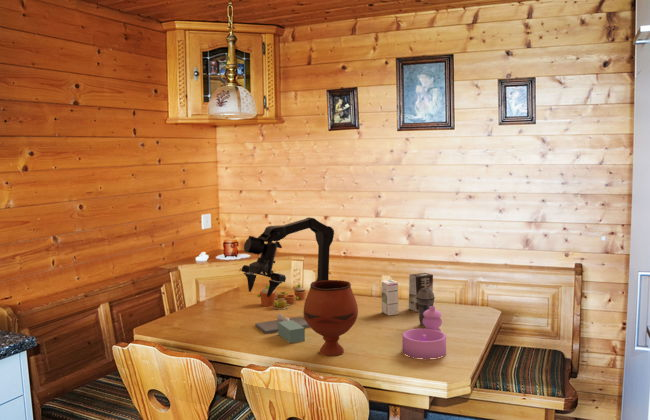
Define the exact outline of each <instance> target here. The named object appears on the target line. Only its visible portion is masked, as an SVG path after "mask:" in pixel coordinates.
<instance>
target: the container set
mask: <svg viewBox="0 0 650 420" xmlns="http://www.w3.org/2000/svg"><path fill="white" fill-rule="evenodd" d="M423 315H424V318H423V321H422V322H423V324H424V326H426V327H424V328H413V329H408V330H405V331H403V332H402V336H401V337H402V345H401V346H402V351H403V352H402V354H403V353H404V354H406V355H408V356H410V357H414V358H423V359H430V358H438V357H441V356H444V355H445V354H446V355H447V334H445V333H444V331H442V329H441V328H440V327H442V324H443V319H442V312H441V311H439V310H437V309H436V306H434V305H433V306H430V307H429V310H426V311H425V312H424V313H423ZM404 354H403V355H404ZM406 355H405V356H406ZM446 355H445V356H446ZM408 356H407V357H408ZM445 356H444V357H445ZM410 357H409V358H410ZM414 358H413V359H414Z"/></svg>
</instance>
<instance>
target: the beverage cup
mask: <svg viewBox="0 0 650 420" xmlns="http://www.w3.org/2000/svg"><path fill="white" fill-rule="evenodd" d="M435 298H436V297H435V293H434V290H433V291H432V290H431V289H429V288H426V278H425V288H422V289H421V290H420V291H419V292H418V295H417V301H418V308H419V312H418V318H419V325H421V326H420V327H422V326H424V324H423V322H422V321H423V318H424V315H423V313H424V312H425V311H426V310H429V307H430V306H434V303H435Z"/></svg>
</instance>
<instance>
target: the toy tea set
mask: <svg viewBox="0 0 650 420" xmlns="http://www.w3.org/2000/svg"><path fill="white" fill-rule="evenodd" d="M268 289H269V285H266V286H265V288H263V289H262V290H260V292H259V293H258V294H257V295H256V296H257V298H260V301H261V306H262V307H267V308H268V307H272V308H273V309H275V310H285V309H287V308H288V307H290V306H292V305H295V304H296V301H304V300H306V294H307V290H306V289H304V287H302V286H301V284H297V287H294V289H293V292H294V294H289V292H288V291H279V292H276V290H274V291H273V292H272V294H271V295H270V296H269V297H267V293H268Z"/></svg>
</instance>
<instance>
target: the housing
mask: <svg viewBox="0 0 650 420" xmlns="http://www.w3.org/2000/svg"><path fill="white" fill-rule="evenodd" d="M305 329H306V328H304V327H302V326H301V325H299V324H298V323H296V322H294V321H293V320H289V321H282V322H278V332H277V334H278V335H277V336H280V337H281V338H282V339H284V340H285V341H286V342H288V343H289V344H293V343H299V342H305V341H306V335H305V334H306V333H305V332H306V331H305Z"/></svg>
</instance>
